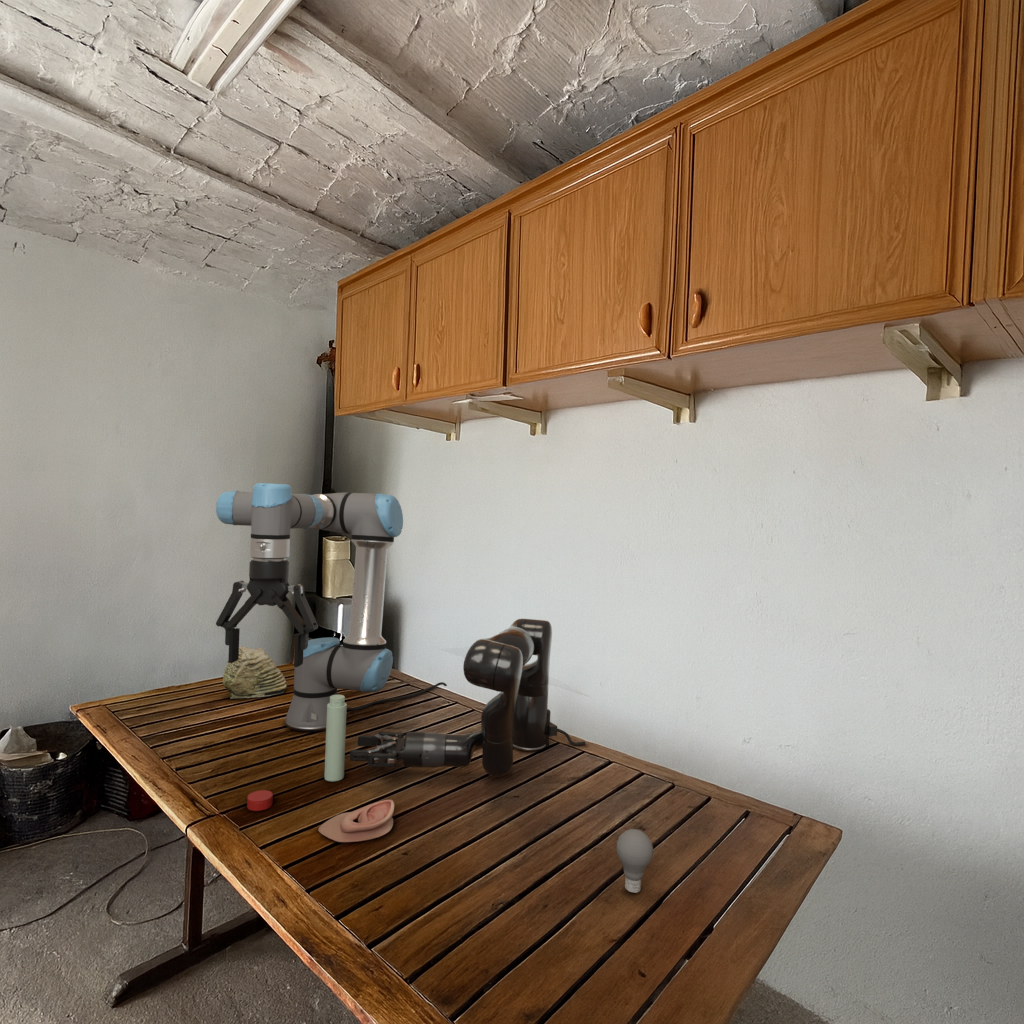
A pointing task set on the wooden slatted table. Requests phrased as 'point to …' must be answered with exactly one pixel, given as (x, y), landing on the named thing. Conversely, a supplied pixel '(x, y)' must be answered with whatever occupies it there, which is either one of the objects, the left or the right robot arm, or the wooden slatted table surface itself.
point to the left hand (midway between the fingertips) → (265, 663)
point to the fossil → (253, 675)
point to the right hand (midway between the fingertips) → (354, 747)
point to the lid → (259, 800)
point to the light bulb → (634, 857)
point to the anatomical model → (360, 823)
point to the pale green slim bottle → (335, 738)
